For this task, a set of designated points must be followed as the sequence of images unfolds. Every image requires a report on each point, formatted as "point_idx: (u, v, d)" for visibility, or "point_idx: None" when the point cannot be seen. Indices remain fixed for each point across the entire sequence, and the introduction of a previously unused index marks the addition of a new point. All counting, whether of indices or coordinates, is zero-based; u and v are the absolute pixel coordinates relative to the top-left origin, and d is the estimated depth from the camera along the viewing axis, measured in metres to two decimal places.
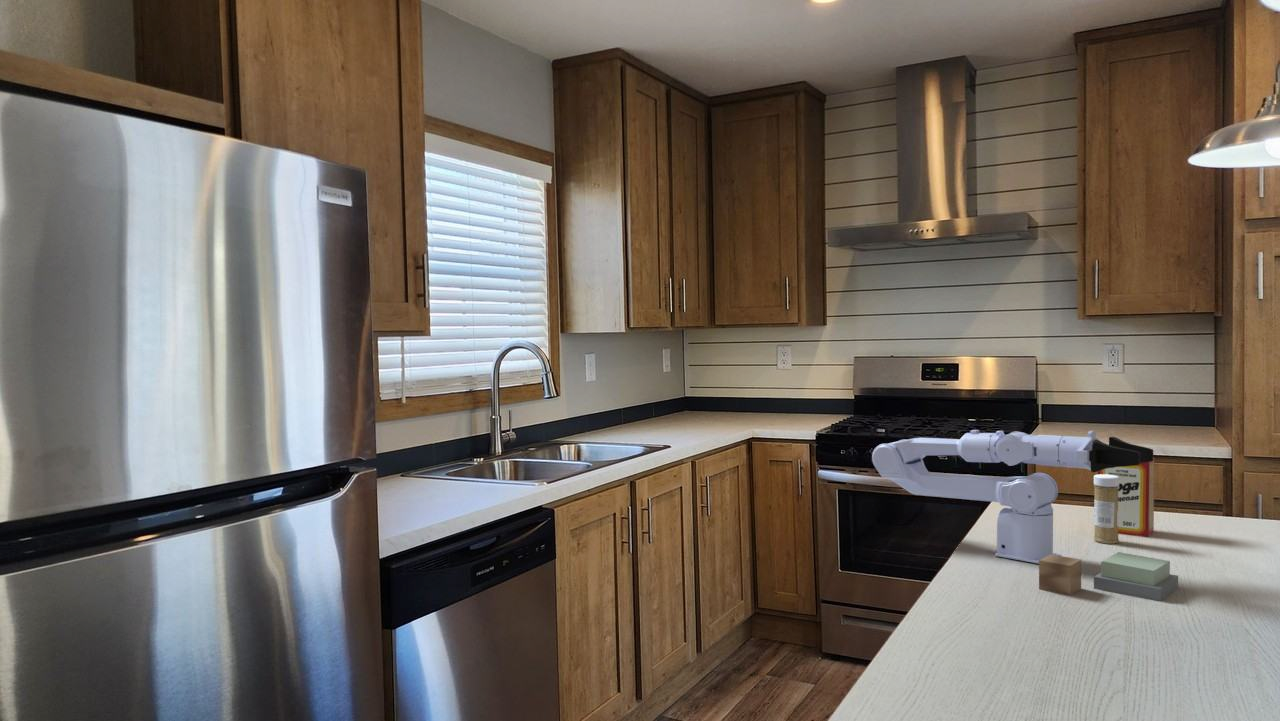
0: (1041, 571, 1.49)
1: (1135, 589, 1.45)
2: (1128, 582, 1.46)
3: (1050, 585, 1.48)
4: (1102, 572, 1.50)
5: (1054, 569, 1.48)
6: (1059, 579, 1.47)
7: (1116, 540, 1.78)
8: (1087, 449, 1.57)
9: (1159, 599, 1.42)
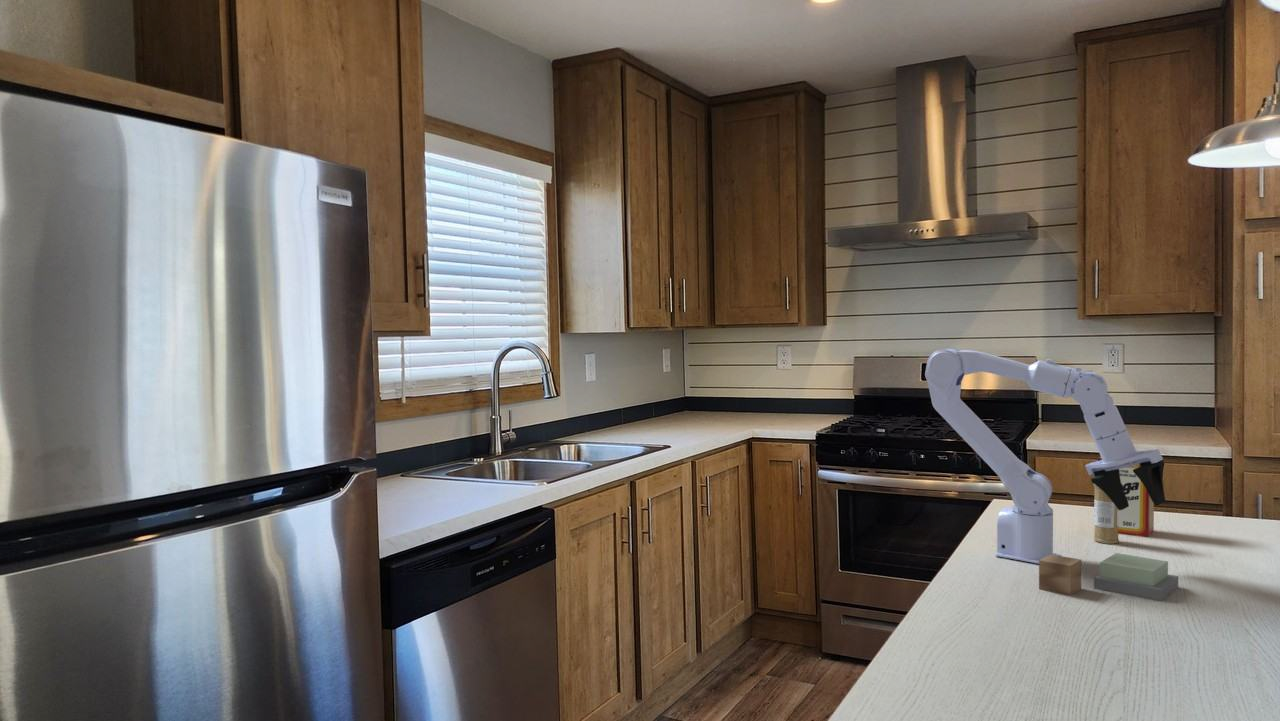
0: (1041, 571, 1.49)
1: (1135, 590, 1.45)
2: (1128, 583, 1.46)
3: (1050, 585, 1.48)
4: (1101, 573, 1.49)
5: (1054, 569, 1.48)
6: (1059, 579, 1.47)
7: (1116, 540, 1.78)
8: None
9: (1159, 600, 1.42)
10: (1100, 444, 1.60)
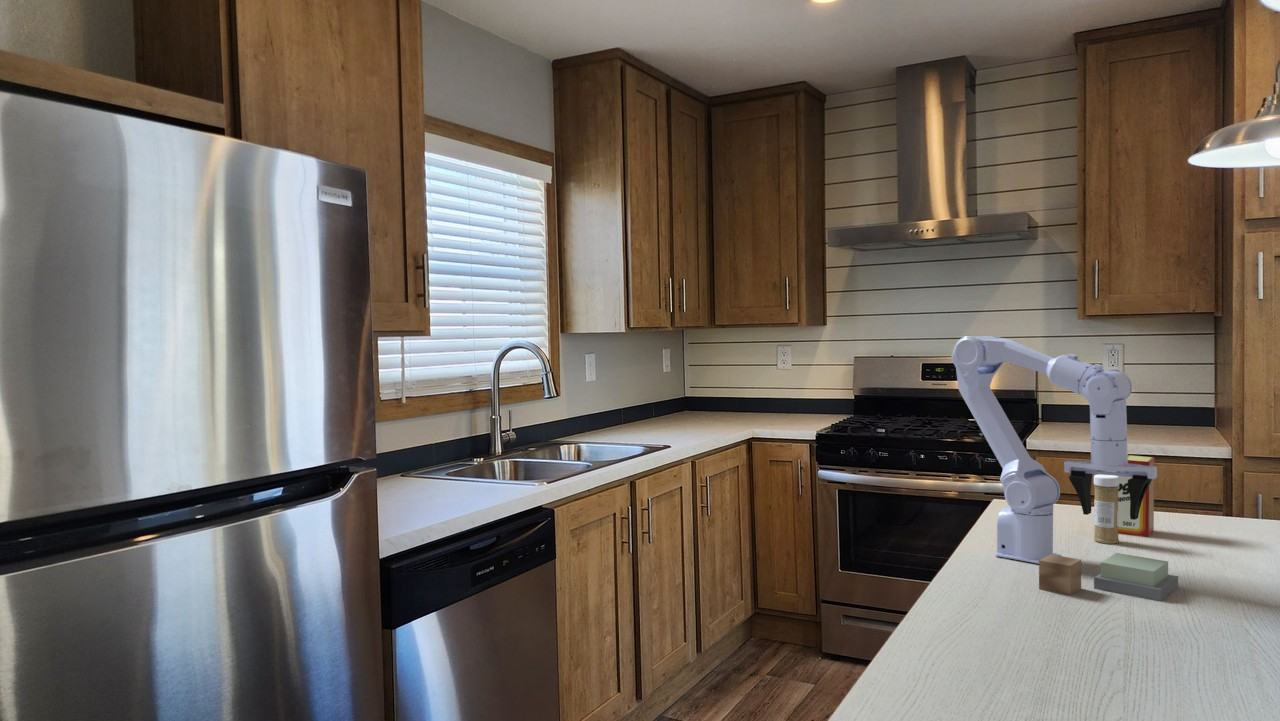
0: (1041, 571, 1.49)
1: (1135, 590, 1.45)
2: (1128, 583, 1.46)
3: (1050, 585, 1.48)
4: (1101, 573, 1.49)
5: (1054, 569, 1.48)
6: (1059, 579, 1.47)
7: (1116, 540, 1.78)
8: None
9: (1159, 600, 1.42)
10: (1101, 446, 1.55)
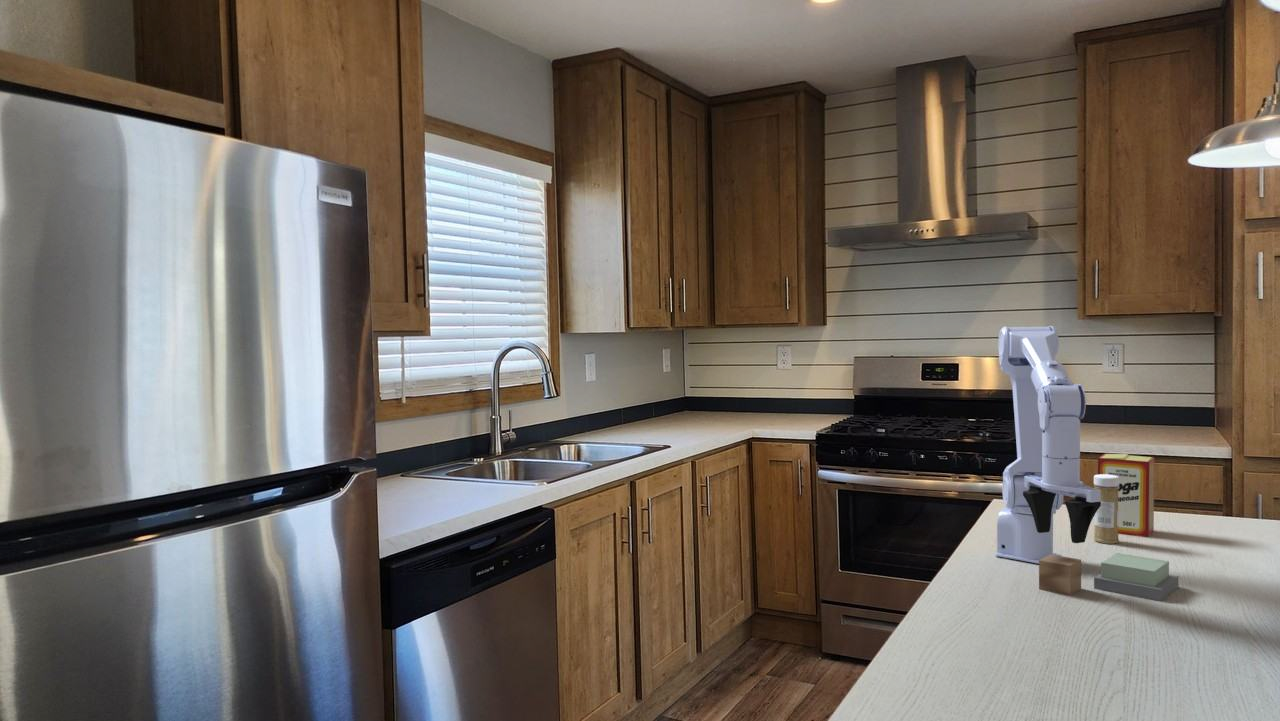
0: (1041, 571, 1.49)
1: (1135, 590, 1.45)
2: (1128, 583, 1.46)
3: (1050, 585, 1.48)
4: (1102, 573, 1.49)
5: (1054, 569, 1.48)
6: (1059, 579, 1.47)
7: (1116, 540, 1.78)
8: None
9: (1159, 600, 1.42)
10: (1045, 462, 1.48)
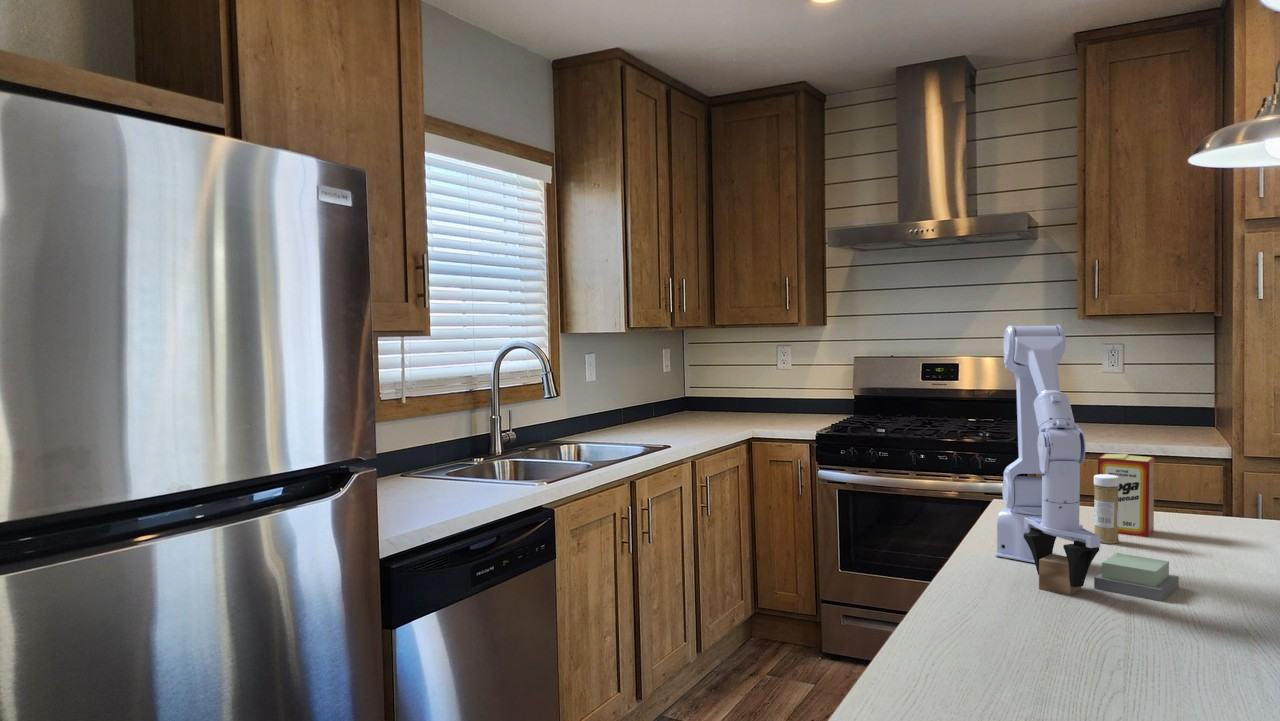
0: (1041, 570, 1.49)
1: (1135, 590, 1.45)
2: (1128, 583, 1.46)
3: (1050, 585, 1.48)
4: (1103, 573, 1.49)
5: (1054, 569, 1.48)
6: (1059, 579, 1.47)
7: (1116, 540, 1.78)
8: None
9: (1159, 600, 1.42)
10: (1045, 506, 1.48)
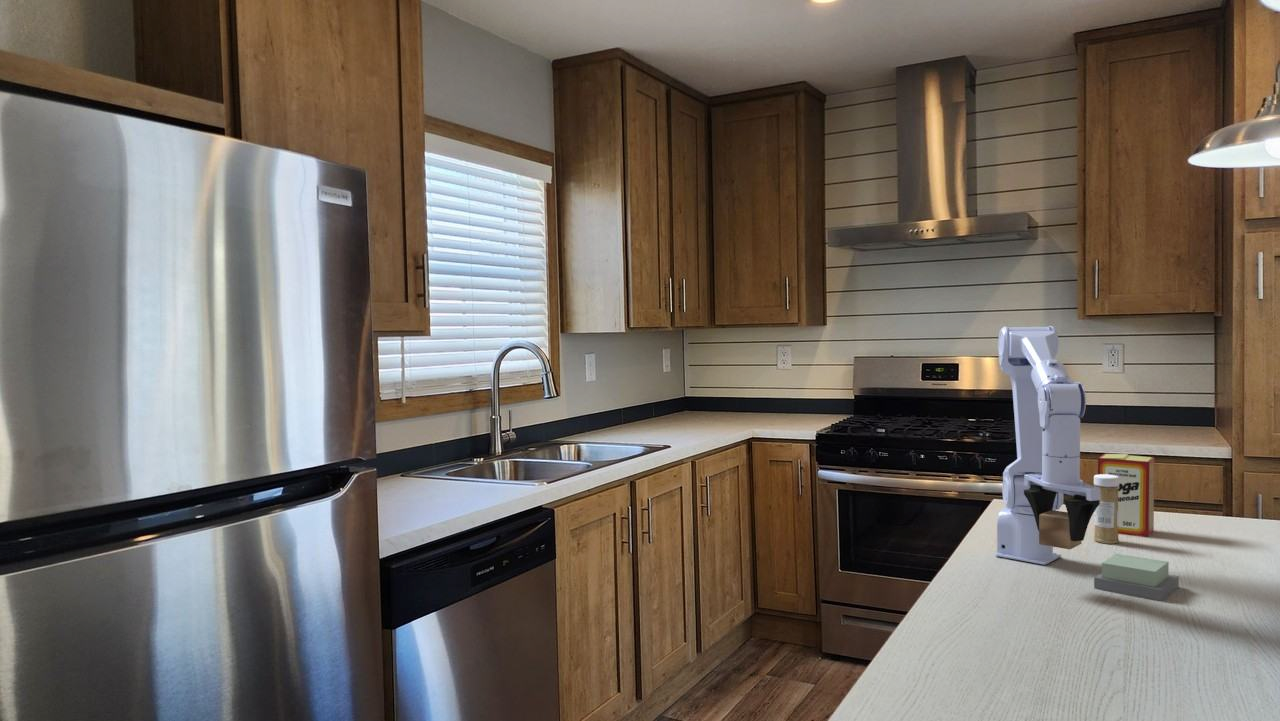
0: (1041, 526, 1.49)
1: (1135, 590, 1.45)
2: (1128, 583, 1.46)
3: (1050, 540, 1.48)
4: (1103, 574, 1.49)
5: (1054, 524, 1.47)
6: (1059, 533, 1.47)
7: (1116, 540, 1.78)
8: None
9: (1159, 600, 1.42)
10: (1045, 461, 1.48)
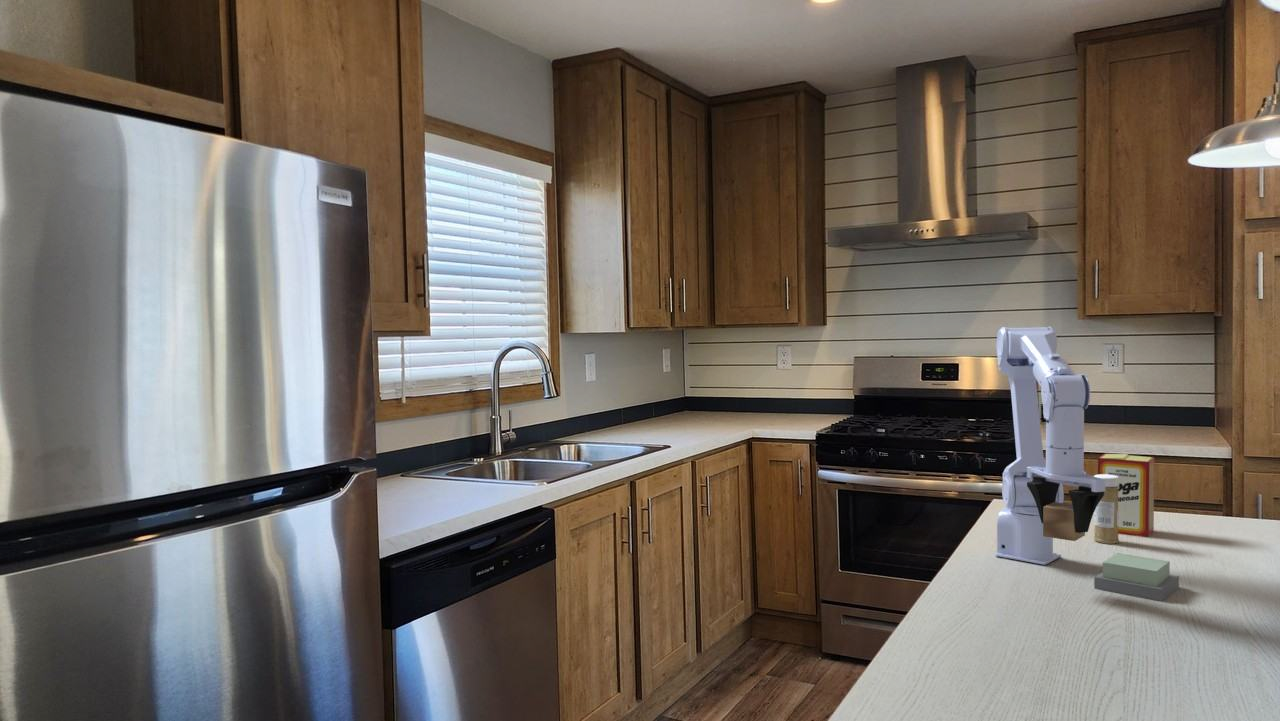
0: (1045, 517, 1.49)
1: (1135, 590, 1.45)
2: (1128, 582, 1.46)
3: (1054, 532, 1.48)
4: (1104, 573, 1.49)
5: (1058, 515, 1.47)
6: (1064, 525, 1.47)
7: (1116, 540, 1.78)
8: None
9: (1160, 599, 1.42)
10: (1050, 453, 1.48)
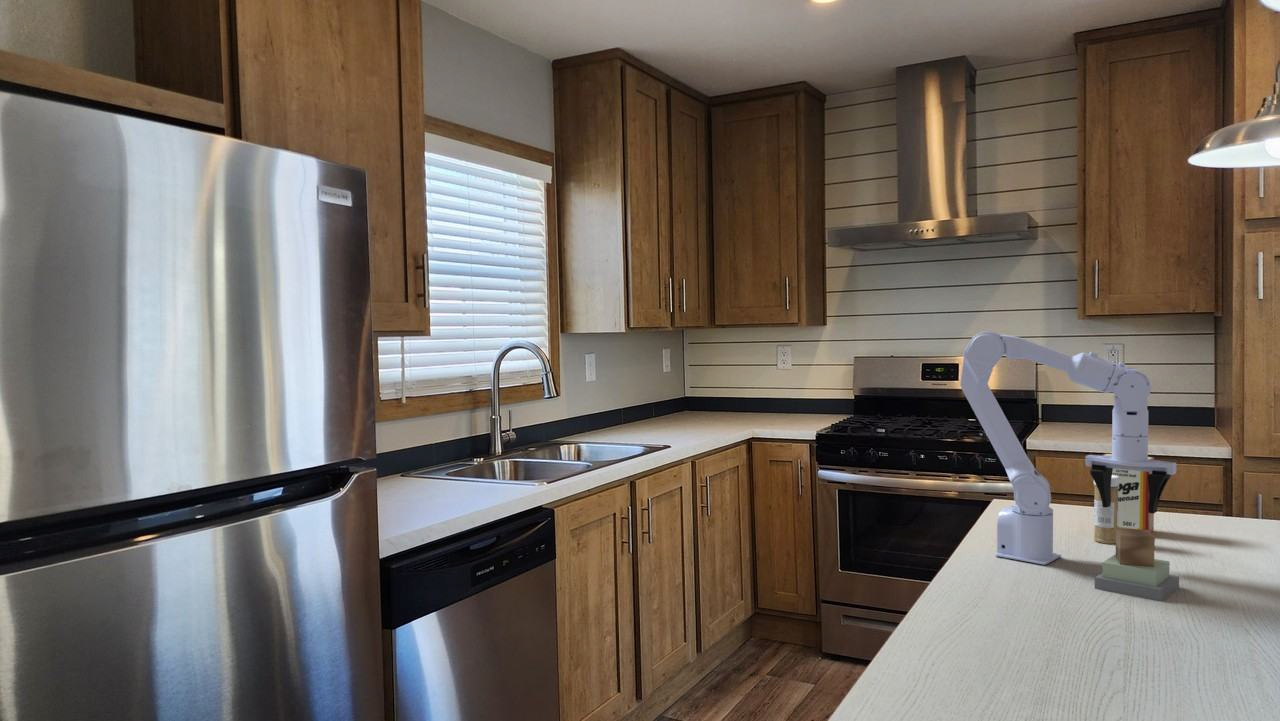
0: (1122, 545, 1.48)
1: (1135, 590, 1.45)
2: (1129, 583, 1.46)
3: (1132, 559, 1.47)
4: (1103, 573, 1.49)
5: (1137, 543, 1.47)
6: (1143, 552, 1.46)
7: None
8: None
9: (1160, 600, 1.42)
10: (1122, 441, 1.59)
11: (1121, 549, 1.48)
